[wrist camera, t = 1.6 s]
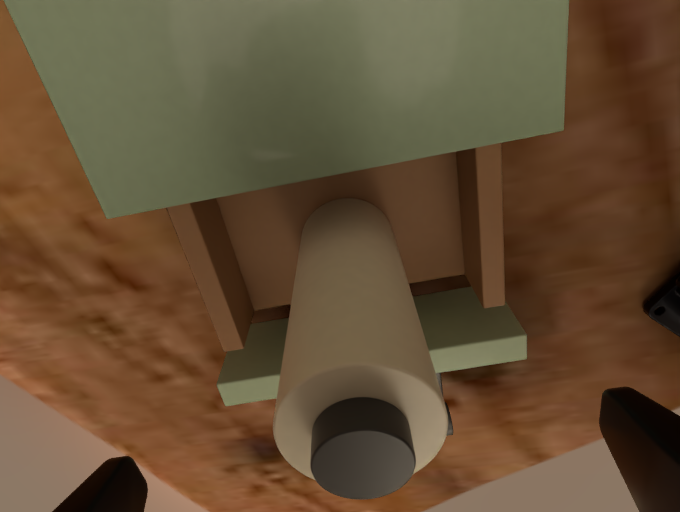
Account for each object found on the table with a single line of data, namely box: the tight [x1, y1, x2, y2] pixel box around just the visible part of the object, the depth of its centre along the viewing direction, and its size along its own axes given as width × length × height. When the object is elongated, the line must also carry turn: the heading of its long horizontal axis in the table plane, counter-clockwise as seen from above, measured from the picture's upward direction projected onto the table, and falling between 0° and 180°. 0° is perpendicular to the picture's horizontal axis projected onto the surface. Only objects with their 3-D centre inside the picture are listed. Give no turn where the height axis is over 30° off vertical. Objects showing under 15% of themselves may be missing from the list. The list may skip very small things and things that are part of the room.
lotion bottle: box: [273, 198, 448, 499], centre depth 13 cm, size 4×4×10 cm
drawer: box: [167, 143, 527, 436], centre depth 17 cm, size 18×12×4 cm
